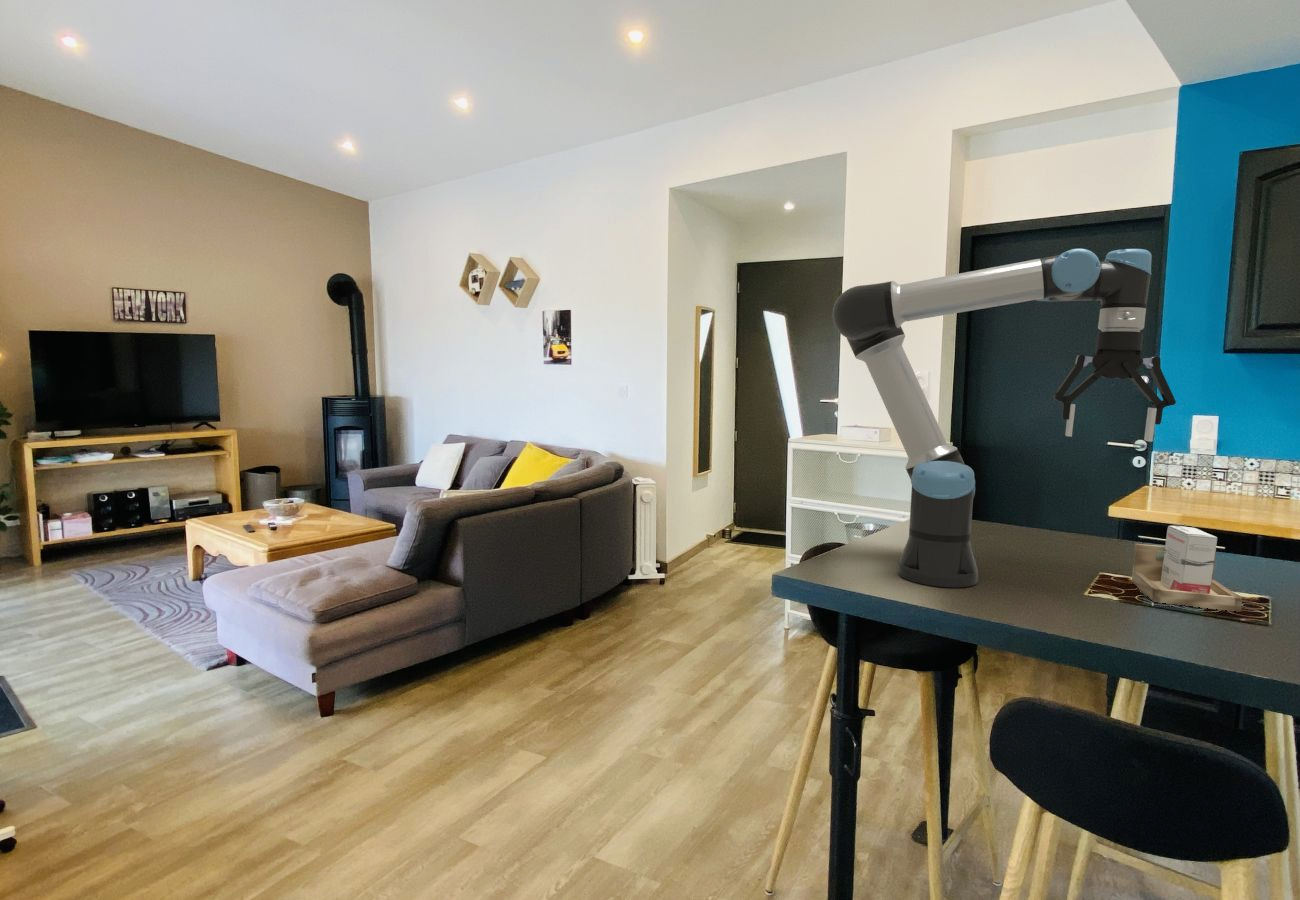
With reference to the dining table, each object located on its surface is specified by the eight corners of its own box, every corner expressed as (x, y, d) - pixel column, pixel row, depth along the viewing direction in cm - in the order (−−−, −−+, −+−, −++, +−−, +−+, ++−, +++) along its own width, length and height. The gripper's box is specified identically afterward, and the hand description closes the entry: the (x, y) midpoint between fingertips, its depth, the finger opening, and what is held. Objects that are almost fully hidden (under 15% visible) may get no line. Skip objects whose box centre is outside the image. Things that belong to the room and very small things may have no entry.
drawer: (1153, 602, 126) (1157, 560, 125) (1131, 581, 139) (1135, 543, 138) (1240, 612, 121) (1245, 568, 120) (1209, 589, 134) (1213, 550, 133)
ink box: (1212, 599, 125) (1218, 536, 124) (1180, 596, 126) (1186, 533, 125) (1189, 585, 133) (1195, 526, 132) (1159, 583, 135) (1164, 524, 133)
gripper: (1050, 329, 135) (1039, 435, 137) (1205, 330, 126) (1190, 444, 128) (1045, 331, 142) (1034, 432, 144) (1190, 333, 133) (1176, 441, 135)
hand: (1107, 438), depth 136 cm, fingers open, 13 cm apart
